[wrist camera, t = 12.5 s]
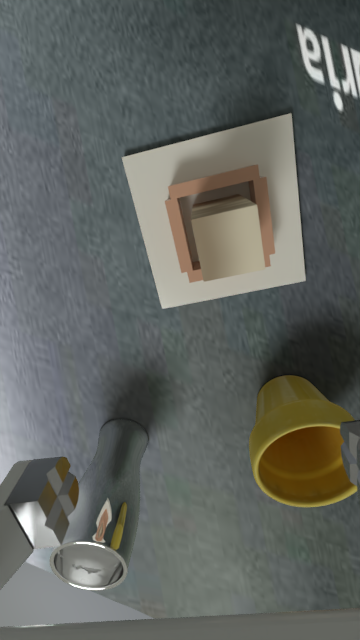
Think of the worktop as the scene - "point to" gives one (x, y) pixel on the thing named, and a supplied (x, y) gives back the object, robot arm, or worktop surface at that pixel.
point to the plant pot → (299, 444)
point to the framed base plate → (213, 183)
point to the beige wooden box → (227, 237)
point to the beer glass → (104, 512)
